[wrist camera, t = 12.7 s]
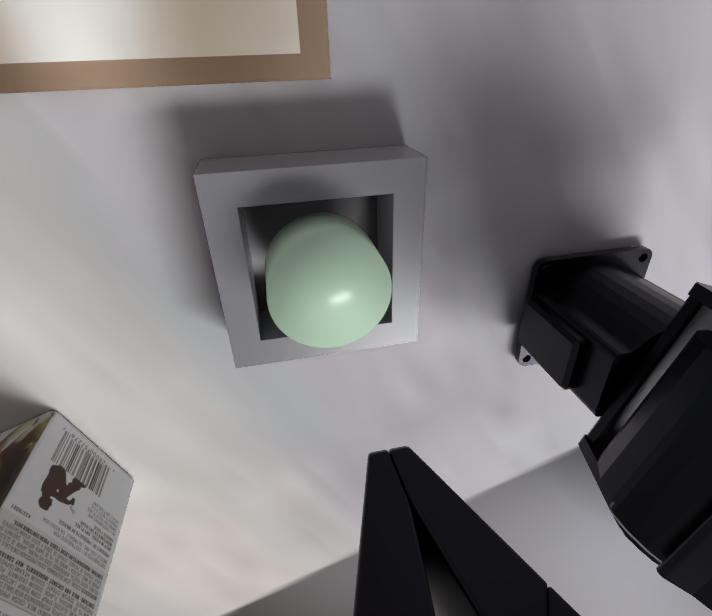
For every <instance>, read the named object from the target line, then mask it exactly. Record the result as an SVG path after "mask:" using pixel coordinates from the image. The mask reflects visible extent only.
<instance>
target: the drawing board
mask: <svg viewBox="0 0 712 616" xmlns="http://www.w3.org/2000/svg"><path fill="white" fill-rule="evenodd" d="M313 79H331V77H330V58H329V40H328V21H327V2H326V0H0V93H20V92H43V91H65V90H88V89H110V88H133V87H155V86H178V85H200V84H223V83H245V82H268V81H290V80H313Z"/></svg>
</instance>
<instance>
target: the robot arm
mask: <svg viewBox="0 0 712 616" xmlns="http://www.w3.org/2000/svg"><path fill="white" fill-rule="evenodd" d="M651 257H652V251H651V250H650V249H648V248H646V247H644V246H635V247H627V248H619V249H610V250H602V251H594V252H586V253H577V254H569V255H561V256H553V257H545V258H541V259H539V260H537V261H536V262H535V264H534V266H533V268H532V273H531V278H530V283H529V288H528V293H527V298H526V302H525V305H524V310H523V315H522V320H521V325H520V330H519V335H518V343H517V348H516V353H515V359H516V361H517V362H518V363H519V364H520V365H522V366H527V365H533V364H540V365H541V366H542V367H543V369H544V370H545V371H546V372H547V373H548V374H549V375H550V376H551V377H552V378H553V379H554V380H555V381H556V382H557V384H558V385H559V386H560V387H562V388H563V389H564V390H566V389H571V391H572V392H573V393H574V394H575V395H576V396H577V397H578V398H579V399H580V400H581V401H582V402H583V403H584V404H585V405H586V406H587V407H588V408H589V409H590V410H591V411H592V413H593V414H594V415H595V416H598V417H600V416H601V417H600V418H599V420H598V421H597V423H596V424H595V425H594V427H593V428H592V429H591V431H590V432H589V433H588V435H584V436H583V438H582V439H581V441H580V442H579V443H578V445H579V447H580V449H581V451H582V453H583V455H584V457H585V459H586V461H587V463H588V466H589V467H590V469H591V472H592V474H593V476H594V478H595V480H596V482H597V484H598V486H599V488H600V490H601V492H602V494H603V496H604V498H605V501H606V502H607V504H608V507H609V509H610V511H611V513H612V515H613V517H614V519H615V520H616V522H617V524H618V525H619V527H620V528H621V529H622V531H623V533H624V534H625V536H626V537H627V538H628V539H629V540H630V541H631V542H632V543H633V544H634V545H635V546H636V547H637V548H638V549H639V550H640V551H642V552H643V553H644V554H645V555H646V556H647V557H649V558H650V559H651V560H652V561H654V562H655V563H657V564H658V566H657V568H656V569H657V572H658V573H659V574H660V575H661V576H662V577H663V578H664V579H666V580H668V581H669V582H671V583H673V584H674V585H676V586H677V587H679V588H681V589H683V590H684V591H686V592H687V593H689V594H691V595H692V596H693V597H695V598H696V599H697V600H699V601H700V602H701V603H703V604H704V605H705V606H707V607H708V608H709V609H710V610H712V286H710V285H706V284H703V283H699V282H696V283H695V285H694V286H693V288H692V289H691V290H690V292H689V293H688V295H690V296H689V297H688V299H687V300H686V301H683V300H682V299H680V298H678V297H676V296H674V295H673V294H671V293H669V292H667V291H666V290H664V289H662V288H660V287H658V286H657V285H655V284H653V283H651V282H650V281H648V280H646V279H644V277H645V274H646V271H647V268H648V265H649V263H650V260H651ZM545 266H546V268H545V269H544V270H543V271H542V269H543V267H545ZM525 356H526V357H525ZM353 616H580V615H579V614H578V613H577V612H576V611H575V610H574V609H572V607H571V606H570V605H569V604H568V603H567V602H566V601H564V600H563V598H561V596H559V594H558V593H556V592H555V590H553V588H551V587H548V588H547V583H546V582H545V581H544V580H543V579H542V578H541V577H540V576H539V575H538V574H537V573H536V572H535V571H534V570H533V569H532V568H531V567H530V566H529V565H528V564H527V563H526V562H525V561H524V560H523V559H522V558H521V557H520V556H519V555H518V554H517V553H516V552H515V551H514V550H513V549H512V548H511V547H510V546H509V545H508V544H507V543H506V542H505V541H504V540H503V539H502V538H501V537H500V536H499V535H497V533H495V531H494V530H492V529H491V528H490V526H488V525H487V524H486V523H485V522H484V521H483V520H482V519H481V518H480V517H479V516H478V515H477V514H476V513H475V512H474V511H473V510H472V509H471V508H470V507H469V506H468V505H467V504H466V503H465V502H464V501H463V500H462V499H461V498H460V497H459V496H458V495H457V494H456V493H455V492H454V491H453V490H452V489H451V488H450V487H449V486H448V485H447V484H446V483H445V482H444V481H443V480H442V479H441V478H440V477H439V476H438V475H437V474H436V473H435V472H434V471H433V470H432V469H431V468H430V467H429V466H428V465H427V464H426V463H425V462H424V461H423V460H422V459H421V458H420V457H419V456H418V455H417V454H416V453H415V452H414V451H413V450H412V449H410V448H409V447H407V446H403V447H398V448H392V449H390V450H389V452H388V451H387V450H382V451H376V452H371V453H369V455H368V463H367V473H366V483H365V494H364V504H363V515H362V525H361V536H360V546H359V557H358V568H357V579H356V589H355V599H354V610H353Z"/></svg>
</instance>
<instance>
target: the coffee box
mask: <svg viewBox="0 0 712 616" xmlns="http://www.w3.org/2000/svg"><path fill="white" fill-rule="evenodd" d="M133 483H134V480H133V478H131V477H130V476H129V475H128V474H127V473H126V472H125V471H123V470H122V469H121V468H120V467H119V466H118V465H117V464H116V463H114V462H113V461H112V460H111V459H110V458H109V457H108V456H107V455H106V454H104V453H103V452H102V451H101V450H100V449H99V448H98V447H97V446H95V445H94V444H93V443H92V442H91V441H90V440H89V439H88V438H86V437H85V436H84V435H83V434H82V433H81V432H80V431H78V430H77V429H76V428H75V427H74V426H73V425H72V424H70V423H69V422H68V421H67V420H66V419H65V418H64V417H63V416H61V415H60V414H59V413H58V412H55V411H49V412H47V413H44V414H42V415H40V416H38V417H35V418H33V419H31V420H29V421H26V422H24V423H22V424H20V425H18V426H15V427H13V428H11V429H9V430H7V431H4V432H2V433H0V616H96V614H97V610H98V607H99V603H100V600H101V597H102V593H103V590H104V587H105V583H106V579H107V576H108V571H109V568H110V564H111V561H112V557H113V553H114V550H115V547H116V543H117V540H118V535H119V533H120V528H121V525H122V522H123V518H124V514H125V511H126V507H127V504H128V500H129V497H130V493H131V490H132V486H133Z"/></svg>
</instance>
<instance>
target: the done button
mask: <svg viewBox="0 0 712 616" xmlns="http://www.w3.org/2000/svg"><path fill="white" fill-rule="evenodd" d="M265 274H266V293H267V305H268V309H269V312H270V315H271V317H272V319H273V321H274V322H275V324H276V325H277V327H278V328H279V329H280V330H281V331H282V332H283V333H284V334H285V335H287V336H288V337H289V338H291V339H293V340H295V341H296V342H299V343H301V344H304V345H307V346H311V347H319V348H330V347H337V346H342V345H345V344H349V343H351V342H353V341H356V340H358V339H359V338H361V337H363V336H364V335H366V334H367V333H369V332H370V331H371V330H372V329H373V328H374V327H375V326H376V325H377V324H378V323H379V322H380V320H381V319H382V317H383V316H384V314H385V312H386V310H387V308H388V306H389V303H390V299H391V293H392V281H391V276H390V272H389V270H388V267H387V265H386V264H385V262H384V260H383V258H382V257H381V255H380V254H379V252H378V251H377V249H376V248H375V246H374V244H373V243H372V241H371V240H370V238H369V237H368V235H367V234H366V232H365V231H364V230H363V229H362V228H361V227H360V226H359V225H358V224H357V223H355V222H354V221H352V220H350V219H349V218H347V217H344V216H342V215H339V214H334V213H327V212H319V213H311V214H307V215H304V216H301V217H299V218H296V219H294V220H293V221H291V222H289V223H288V224H287V225H285V226H284V227H283V228H282V229H281V230H280V231H279V232H278V233H277V234H276V236H275V237H274V238H273V240H272V242H271V244H270V246H269V248H268V251H267V255H266V260H265Z"/></svg>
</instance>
